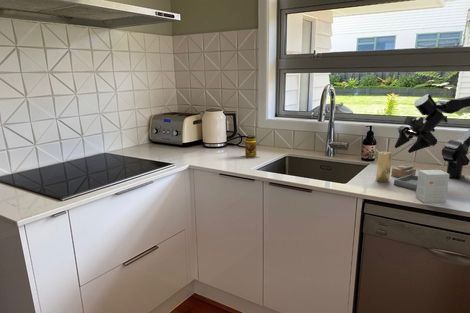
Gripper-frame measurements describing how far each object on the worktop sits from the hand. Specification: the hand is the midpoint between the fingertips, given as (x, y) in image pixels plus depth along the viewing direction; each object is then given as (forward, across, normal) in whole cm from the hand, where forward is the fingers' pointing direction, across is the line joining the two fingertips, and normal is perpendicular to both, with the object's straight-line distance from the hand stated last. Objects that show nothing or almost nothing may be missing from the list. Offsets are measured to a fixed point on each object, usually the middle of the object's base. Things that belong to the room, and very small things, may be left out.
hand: (401, 149), depth 141 cm
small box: (+12, +24, +7) cm, 27 cm away
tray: (+8, +8, +11) cm, 16 cm away
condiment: (+48, -52, -29) cm, 77 cm away
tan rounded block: (+6, -5, +13) cm, 15 cm away
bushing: (+14, 0, +4) cm, 15 cm away
